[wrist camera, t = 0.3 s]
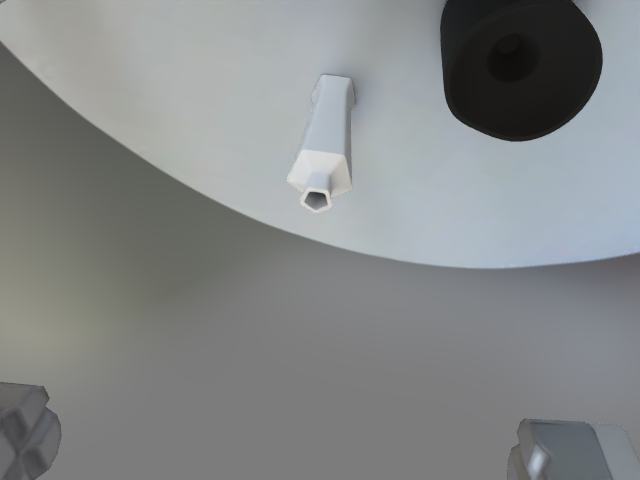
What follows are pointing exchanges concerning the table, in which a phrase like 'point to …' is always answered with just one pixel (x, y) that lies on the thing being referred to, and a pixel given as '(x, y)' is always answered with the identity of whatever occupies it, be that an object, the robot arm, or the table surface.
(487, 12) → the black bluetooth speaker
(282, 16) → the table surface
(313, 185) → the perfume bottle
